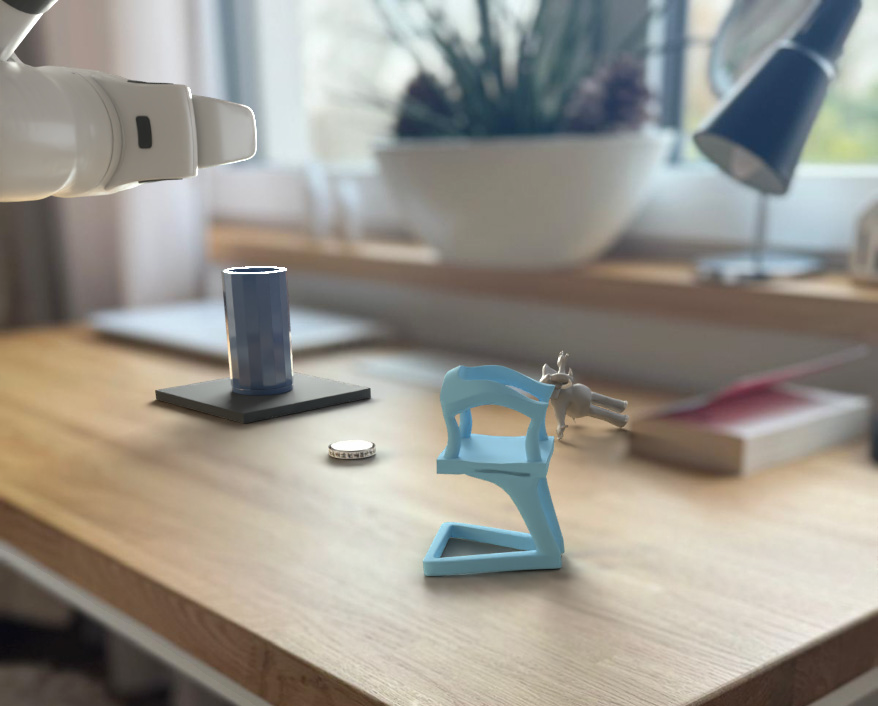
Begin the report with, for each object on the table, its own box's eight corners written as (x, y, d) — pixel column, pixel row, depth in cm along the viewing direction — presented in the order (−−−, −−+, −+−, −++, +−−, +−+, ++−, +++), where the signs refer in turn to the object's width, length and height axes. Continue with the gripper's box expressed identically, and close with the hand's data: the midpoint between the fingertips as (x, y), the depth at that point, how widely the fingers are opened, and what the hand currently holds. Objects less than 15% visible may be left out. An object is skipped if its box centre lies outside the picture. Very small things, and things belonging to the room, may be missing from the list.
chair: (559, 583, 64) (565, 381, 59) (421, 576, 65) (417, 378, 61) (567, 540, 71) (573, 356, 66) (442, 534, 72) (440, 354, 68)
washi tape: (375, 445, 94) (375, 438, 94) (376, 458, 90) (375, 450, 90) (329, 447, 94) (328, 440, 93) (328, 459, 90) (327, 452, 90)
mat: (155, 399, 113) (154, 390, 113) (279, 377, 124) (278, 368, 123) (244, 423, 103) (243, 413, 102) (371, 397, 113) (370, 387, 112)
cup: (219, 389, 113) (209, 270, 108) (269, 380, 117) (261, 265, 112) (255, 398, 108) (246, 274, 104) (306, 388, 113) (299, 269, 108)
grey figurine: (643, 442, 95) (551, 412, 92) (607, 477, 100) (520, 449, 97) (640, 355, 100) (553, 324, 97) (606, 392, 104) (523, 363, 102)
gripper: (-25, 178, 85) (80, 173, 97) (207, 178, 79) (288, 173, 91) (-39, 90, 82) (70, 96, 95) (199, 83, 77) (283, 91, 89)
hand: (179, 134), depth 93 cm, fingers open, 8 cm apart
